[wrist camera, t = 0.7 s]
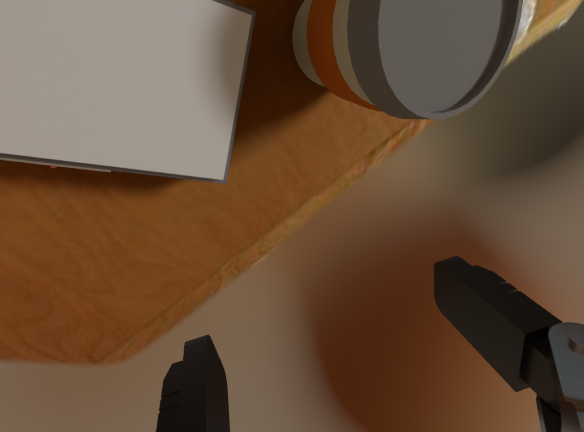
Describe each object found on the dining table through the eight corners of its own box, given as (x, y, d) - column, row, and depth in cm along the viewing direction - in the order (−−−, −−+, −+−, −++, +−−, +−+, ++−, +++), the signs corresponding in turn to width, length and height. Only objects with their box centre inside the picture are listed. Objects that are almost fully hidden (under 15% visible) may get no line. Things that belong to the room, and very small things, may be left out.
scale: (-33, 141, 25) (-80, 161, 19) (-46, -77, 21) (-109, -132, 15) (209, 172, 33) (227, 193, 28) (233, 21, 29) (259, 9, 24)
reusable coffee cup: (258, 82, 32) (344, 89, 20) (298, -68, 29) (430, -173, 16) (358, 119, 38) (472, 143, 26) (400, -1, 35) (553, -40, 22)
